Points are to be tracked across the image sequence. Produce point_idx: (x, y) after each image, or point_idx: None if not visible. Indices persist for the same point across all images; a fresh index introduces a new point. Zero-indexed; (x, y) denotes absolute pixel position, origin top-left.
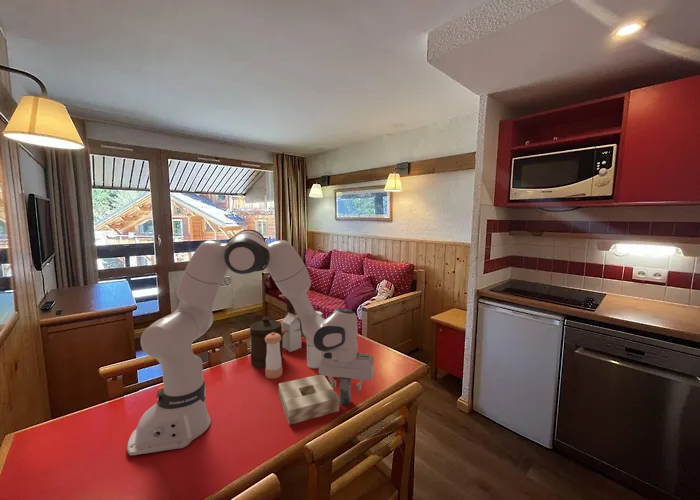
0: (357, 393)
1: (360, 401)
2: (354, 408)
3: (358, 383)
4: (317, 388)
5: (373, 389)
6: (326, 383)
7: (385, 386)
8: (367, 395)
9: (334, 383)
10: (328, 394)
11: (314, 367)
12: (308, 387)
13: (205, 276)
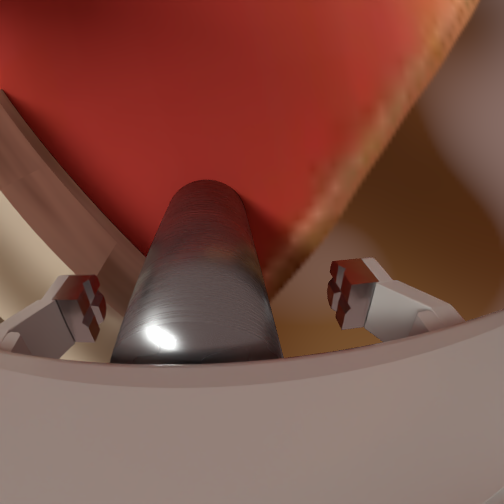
0: (275, 87)
1: (314, 184)
2: (284, 264)
3: (367, 289)
4: (4, 307)
5: (383, 29)
6: (6, 227)
7: (441, 7)
8: (355, 103)
9: (90, 341)
10: (104, 356)
11: None
12: None
13: None
